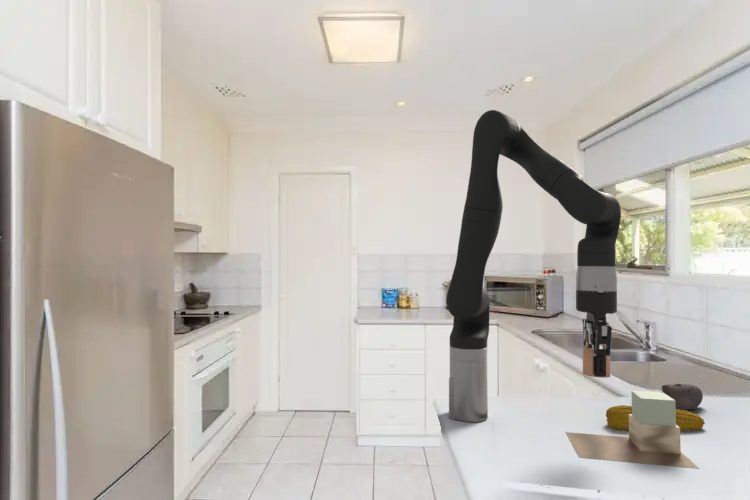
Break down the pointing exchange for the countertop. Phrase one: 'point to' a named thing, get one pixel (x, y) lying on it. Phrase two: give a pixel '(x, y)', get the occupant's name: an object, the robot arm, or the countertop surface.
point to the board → (622, 451)
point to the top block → (653, 408)
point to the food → (620, 414)
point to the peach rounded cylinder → (589, 363)
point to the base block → (654, 437)
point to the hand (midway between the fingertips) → (596, 372)
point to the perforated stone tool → (684, 395)
